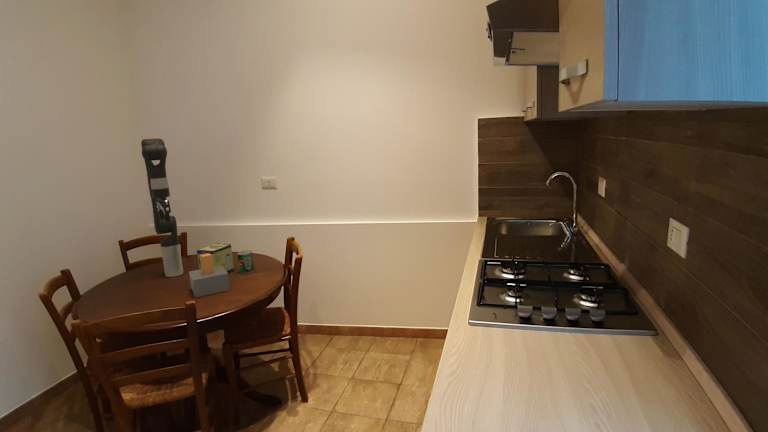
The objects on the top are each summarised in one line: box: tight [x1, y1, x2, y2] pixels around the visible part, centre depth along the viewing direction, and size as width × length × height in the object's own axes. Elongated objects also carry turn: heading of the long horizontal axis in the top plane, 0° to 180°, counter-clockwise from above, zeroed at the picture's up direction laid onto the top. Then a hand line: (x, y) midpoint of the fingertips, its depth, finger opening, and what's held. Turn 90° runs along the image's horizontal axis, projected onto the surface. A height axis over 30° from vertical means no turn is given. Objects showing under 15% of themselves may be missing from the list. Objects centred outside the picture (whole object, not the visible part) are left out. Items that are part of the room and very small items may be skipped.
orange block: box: [200, 253, 214, 274], centre depth 218 cm, size 4×4×9 cm
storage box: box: [188, 265, 231, 298], centre depth 220 cm, size 16×16×9 cm
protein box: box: [196, 242, 235, 274], centre depth 242 cm, size 10×16×16 cm
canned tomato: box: [237, 250, 255, 275], centre depth 245 cm, size 8×8×11 cm
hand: (165, 220), depth 214 cm, fingers open, 8 cm apart
